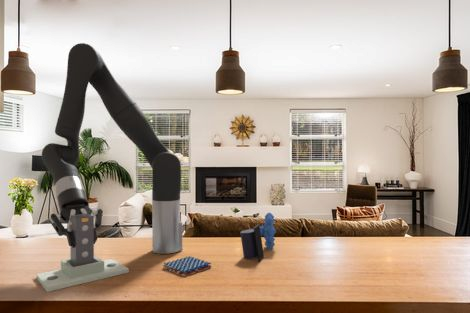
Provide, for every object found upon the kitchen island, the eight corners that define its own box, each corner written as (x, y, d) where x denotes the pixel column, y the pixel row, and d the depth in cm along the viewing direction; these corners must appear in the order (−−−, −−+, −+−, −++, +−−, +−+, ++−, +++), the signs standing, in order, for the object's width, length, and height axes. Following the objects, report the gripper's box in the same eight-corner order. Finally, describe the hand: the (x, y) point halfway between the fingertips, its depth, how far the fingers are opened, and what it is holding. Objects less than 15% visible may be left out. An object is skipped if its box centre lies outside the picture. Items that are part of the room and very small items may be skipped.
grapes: (257, 243, 122) (257, 210, 122) (275, 243, 122) (275, 210, 122) (257, 252, 110) (256, 216, 110) (277, 252, 110) (277, 216, 110)
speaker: (270, 256, 104) (266, 223, 105) (259, 262, 100) (255, 227, 100) (250, 254, 109) (247, 223, 109) (240, 260, 105) (236, 227, 105)
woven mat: (189, 261, 103) (189, 254, 103) (213, 269, 95) (213, 262, 95) (160, 270, 95) (160, 262, 95) (184, 279, 88) (184, 271, 88)
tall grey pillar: (87, 263, 94) (87, 213, 94) (93, 267, 90) (93, 215, 90) (70, 266, 91) (70, 215, 91) (76, 271, 87) (76, 217, 87)
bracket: (112, 262, 101) (112, 250, 101) (128, 272, 92) (128, 259, 92) (36, 278, 88) (36, 264, 88) (46, 291, 78) (46, 277, 79)
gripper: (46, 188, 91) (57, 240, 82) (99, 185, 101) (114, 232, 92) (41, 205, 95) (52, 257, 86) (93, 201, 105) (107, 247, 96)
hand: (84, 244), depth 89 cm, fingers closed on tall grey pillar, 4 cm apart
